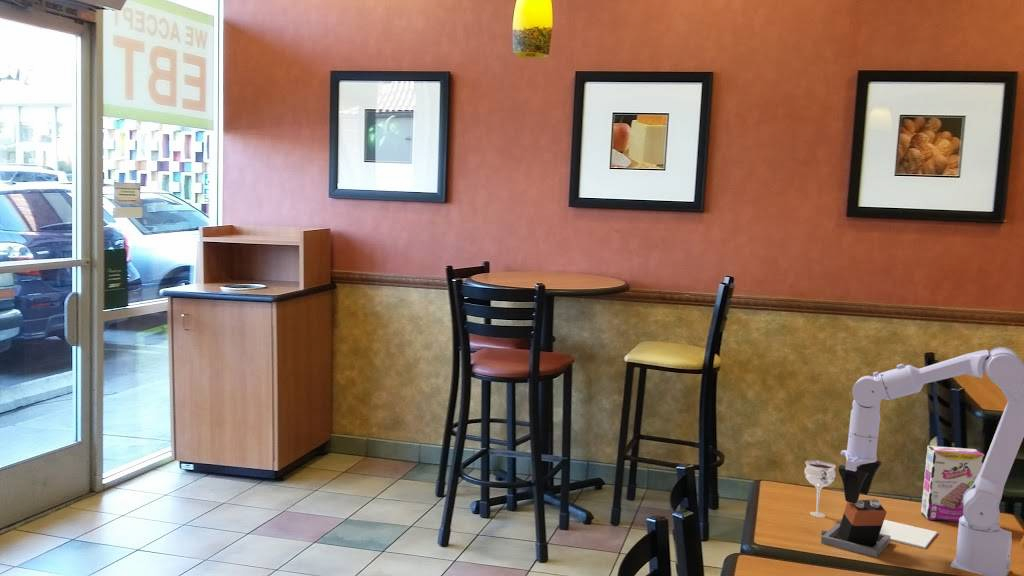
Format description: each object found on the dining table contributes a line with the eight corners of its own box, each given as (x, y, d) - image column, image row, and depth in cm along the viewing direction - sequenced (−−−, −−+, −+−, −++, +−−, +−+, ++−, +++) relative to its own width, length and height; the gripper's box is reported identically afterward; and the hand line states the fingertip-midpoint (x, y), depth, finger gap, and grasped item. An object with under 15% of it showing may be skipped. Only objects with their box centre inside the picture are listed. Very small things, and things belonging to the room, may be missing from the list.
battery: (876, 547, 184) (889, 508, 180) (846, 547, 183) (858, 508, 179) (866, 533, 188) (878, 495, 184) (836, 533, 187) (848, 495, 183)
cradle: (890, 542, 187) (890, 535, 187) (876, 557, 178) (876, 550, 178) (830, 528, 194) (830, 521, 194) (813, 541, 185) (814, 534, 185)
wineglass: (799, 517, 201) (803, 465, 200) (802, 508, 207) (806, 458, 206) (831, 522, 198) (835, 470, 197) (833, 513, 204) (837, 462, 203)
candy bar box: (927, 520, 202) (933, 450, 201) (920, 513, 207) (925, 444, 206) (979, 524, 201) (985, 453, 200) (969, 517, 206) (975, 448, 205)
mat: (937, 533, 194) (937, 531, 194) (924, 548, 184) (924, 546, 184) (879, 520, 201) (879, 518, 201) (865, 534, 191) (865, 532, 191)
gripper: (853, 424, 192) (847, 485, 193) (833, 435, 180) (826, 500, 181) (887, 431, 188) (881, 493, 189) (869, 443, 176) (862, 509, 177)
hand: (856, 497), depth 185 cm, fingers open, 7 cm apart
